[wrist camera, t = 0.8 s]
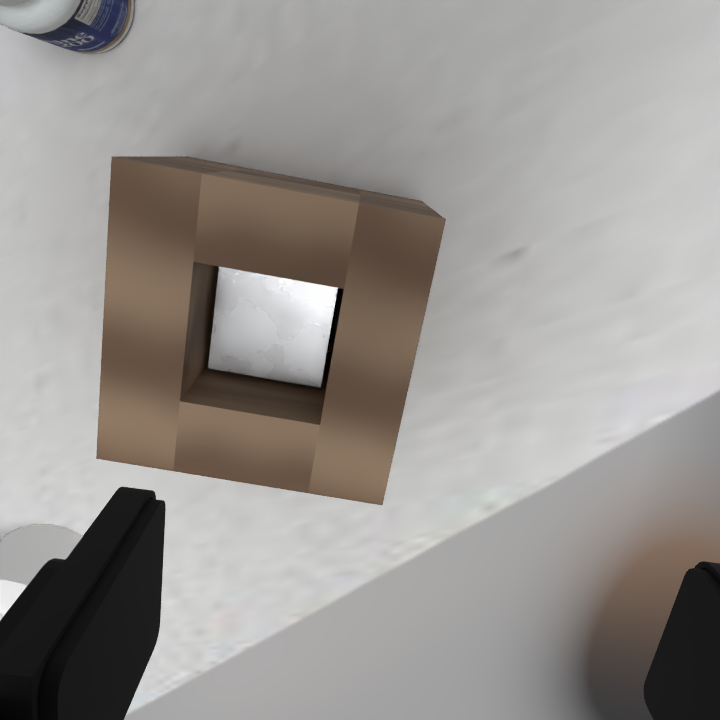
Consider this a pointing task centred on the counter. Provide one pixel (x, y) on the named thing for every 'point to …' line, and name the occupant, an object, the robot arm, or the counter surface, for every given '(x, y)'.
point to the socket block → (196, 312)
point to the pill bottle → (70, 22)
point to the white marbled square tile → (271, 327)
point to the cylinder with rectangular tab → (30, 557)
